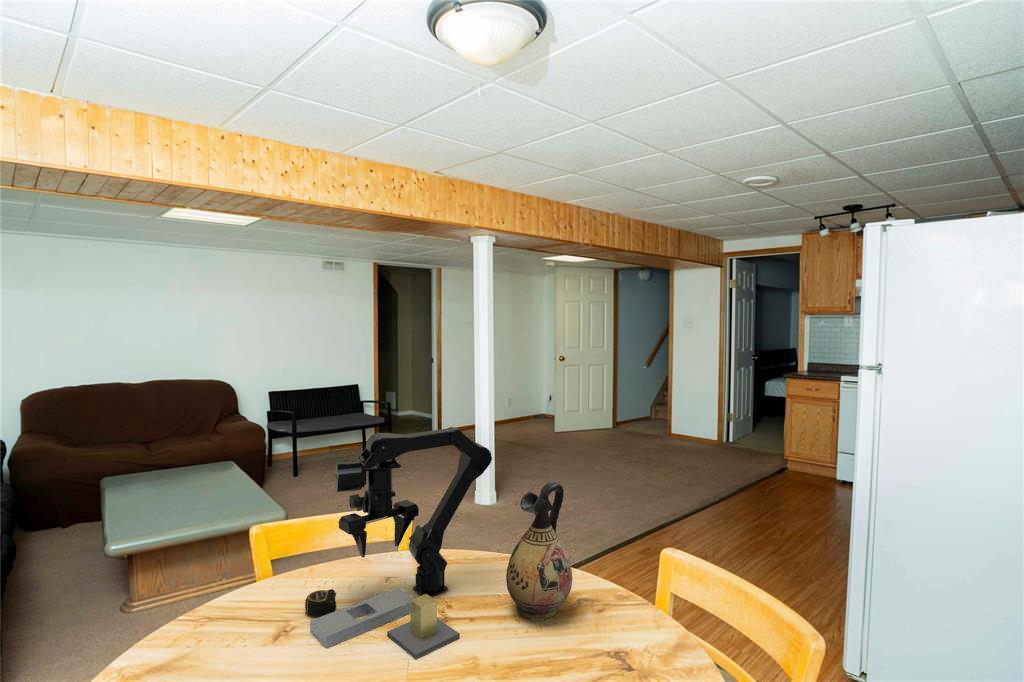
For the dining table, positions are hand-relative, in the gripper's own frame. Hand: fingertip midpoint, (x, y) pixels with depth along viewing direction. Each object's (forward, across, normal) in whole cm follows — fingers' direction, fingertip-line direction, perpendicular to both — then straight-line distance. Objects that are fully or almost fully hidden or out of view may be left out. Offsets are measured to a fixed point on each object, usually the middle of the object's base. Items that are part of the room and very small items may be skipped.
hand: (380, 551), depth 132 cm
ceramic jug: (+12, -26, +29) cm, 41 cm away
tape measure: (+12, +12, -5) cm, 18 cm away
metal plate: (+12, +7, +6) cm, 15 cm away
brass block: (+11, +1, +20) cm, 23 cm away
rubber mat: (+12, +1, +20) cm, 23 cm away
